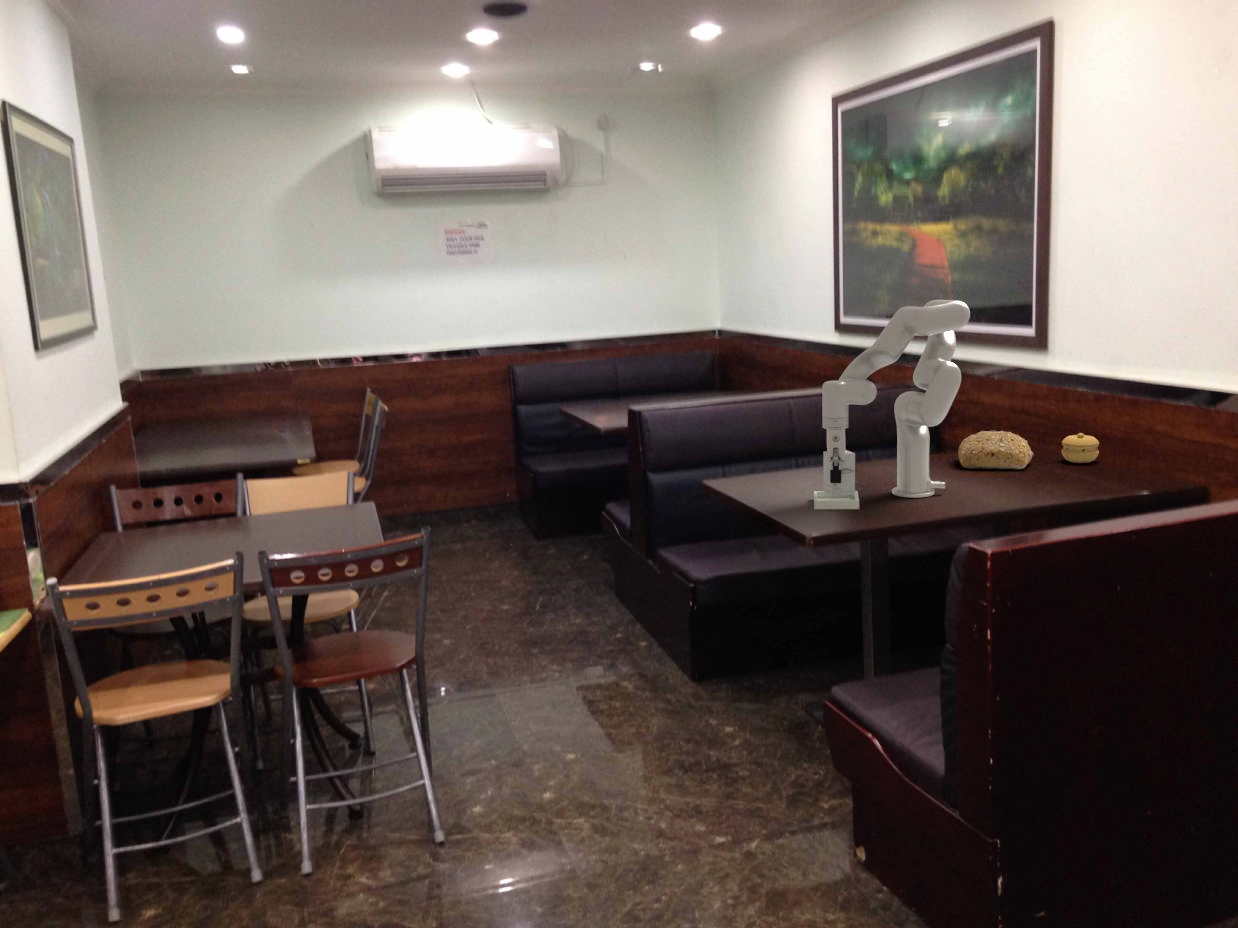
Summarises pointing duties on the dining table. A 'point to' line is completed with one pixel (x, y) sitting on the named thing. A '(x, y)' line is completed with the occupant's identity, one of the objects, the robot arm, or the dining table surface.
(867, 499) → the dining table surface
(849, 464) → the supplement box
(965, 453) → the bread
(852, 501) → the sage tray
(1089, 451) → the pot
